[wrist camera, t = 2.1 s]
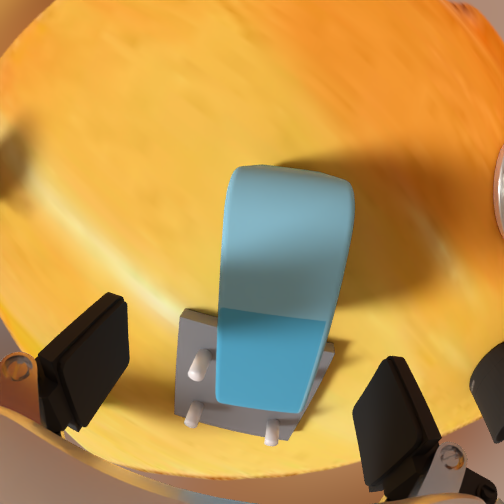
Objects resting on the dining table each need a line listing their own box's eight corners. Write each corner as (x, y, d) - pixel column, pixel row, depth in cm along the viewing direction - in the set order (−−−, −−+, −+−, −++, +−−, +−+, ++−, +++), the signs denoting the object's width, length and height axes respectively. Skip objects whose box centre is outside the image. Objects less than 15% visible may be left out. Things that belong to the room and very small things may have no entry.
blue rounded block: (260, 164, 20) (226, 166, 9) (320, 171, 20) (362, 184, 8) (246, 306, 24) (214, 414, 13) (297, 313, 24) (299, 425, 12)
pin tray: (333, 343, 24) (339, 375, 20) (288, 431, 29) (286, 460, 25) (185, 308, 25) (167, 335, 21) (178, 405, 30) (166, 432, 26)
